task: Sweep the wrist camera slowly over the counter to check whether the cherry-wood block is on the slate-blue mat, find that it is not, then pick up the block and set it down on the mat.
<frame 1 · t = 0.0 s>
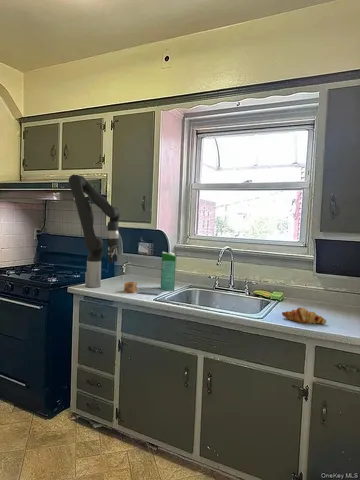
hand: (113, 262, 234), 17 cm above the worktop, tool pointing down, fingers open, 8 cm apart
milk carton: (167, 289, 240), on the worktop
slate mat: (151, 292, 228), on the worktop
wood block: (130, 292, 226), on the worktop
croissant: (303, 322, 178), on the worktop
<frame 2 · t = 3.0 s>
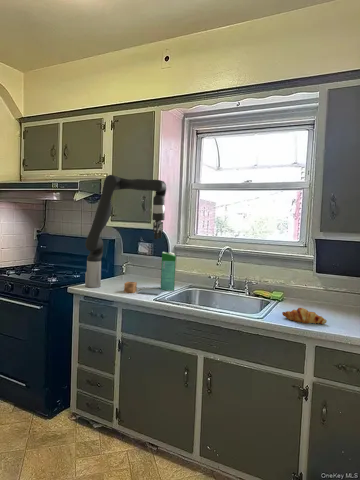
hand: (157, 238, 222), 35 cm above the worktop, tool pointing down, fingers open, 8 cm apart
nothing on the worktop moved.
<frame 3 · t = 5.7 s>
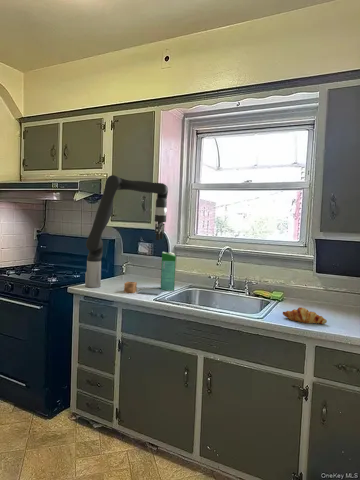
hand: (159, 239, 232), 34 cm above the worktop, tool pointing down, fingers open, 8 cm apart
nothing on the worktop moved.
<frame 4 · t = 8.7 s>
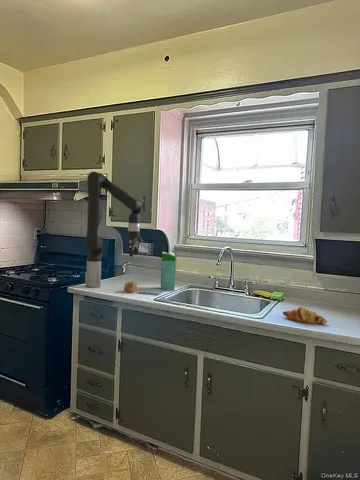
hand: (133, 255, 228), 23 cm above the worktop, tool pointing down, fingers open, 8 cm apart
nothing on the worktop moved.
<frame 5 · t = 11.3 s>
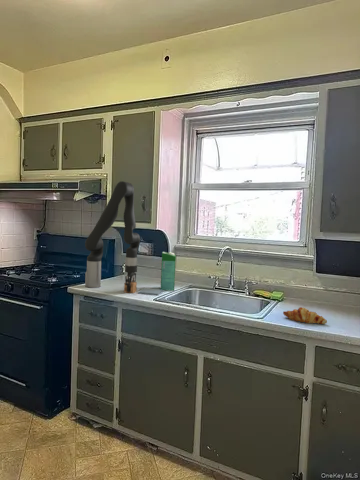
hand: (130, 290, 226), 1 cm above the worktop, tool pointing down, fingers closed on wood block, 6 cm apart
wood block: (130, 291, 226), on the worktop, touching gripper
everything else where it was.
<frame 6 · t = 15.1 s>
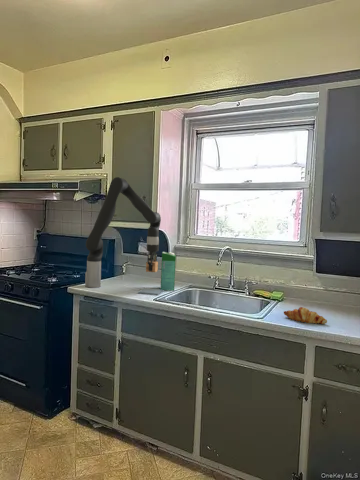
hand: (151, 269, 227), 14 cm above the worktop, tool pointing down, fingers closed on wood block, 6 cm apart
wood block: (151, 271, 227), point 14 cm above the worktop, touching gripper
when the fingers open (3 cm above the worktop, at t = 17.5 s): wood block drops 1 cm, resting on slate mat.
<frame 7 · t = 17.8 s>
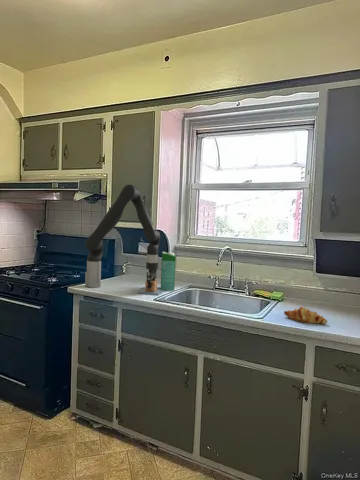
hand: (151, 286, 227), 4 cm above the worktop, tool pointing down, fingers open, 8 cm apart
wood block: (151, 290, 228), point 1 cm above the worktop, touching slate mat
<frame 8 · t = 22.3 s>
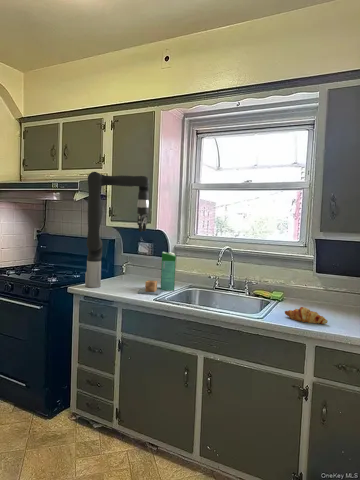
hand: (142, 231, 237), 38 cm above the worktop, tool pointing down, fingers open, 8 cm apart
at the end: wood block inside the target area on the slate mat (0.0 cm from its centre), point 1.0 cm above the slate mat's base; wood block tilted 0°; the gripper is holding nothing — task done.
